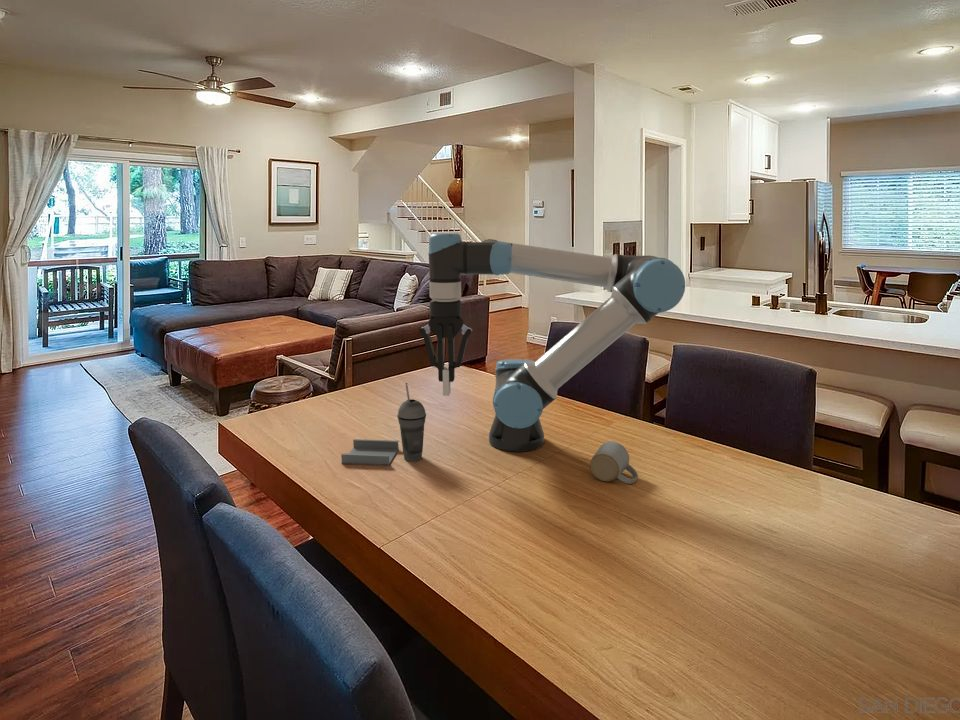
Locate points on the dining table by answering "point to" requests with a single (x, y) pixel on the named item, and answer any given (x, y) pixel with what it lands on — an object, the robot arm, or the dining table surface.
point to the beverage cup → (412, 428)
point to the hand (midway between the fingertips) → (446, 393)
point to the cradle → (371, 452)
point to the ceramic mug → (612, 463)
